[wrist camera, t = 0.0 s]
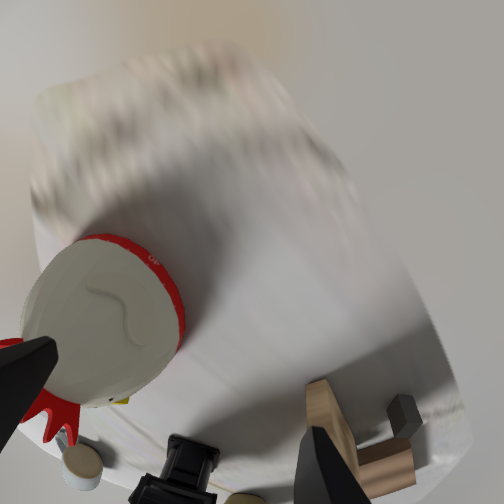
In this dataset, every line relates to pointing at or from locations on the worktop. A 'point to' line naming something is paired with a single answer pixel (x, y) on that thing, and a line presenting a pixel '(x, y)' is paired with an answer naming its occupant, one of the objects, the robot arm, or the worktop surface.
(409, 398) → the stop block
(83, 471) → the ceramic mug
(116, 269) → the kitchen timer
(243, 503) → the squeeze bottle
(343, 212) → the worktop surface
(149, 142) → the worktop surface
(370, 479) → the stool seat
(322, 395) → the light wooden board
